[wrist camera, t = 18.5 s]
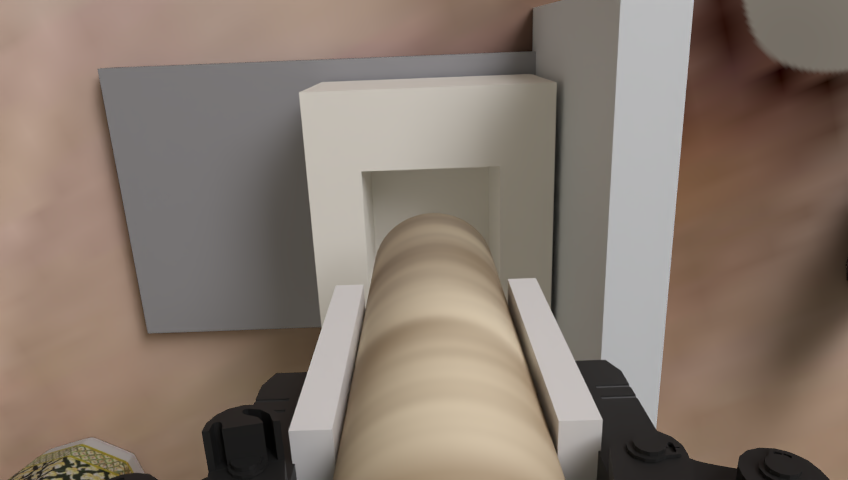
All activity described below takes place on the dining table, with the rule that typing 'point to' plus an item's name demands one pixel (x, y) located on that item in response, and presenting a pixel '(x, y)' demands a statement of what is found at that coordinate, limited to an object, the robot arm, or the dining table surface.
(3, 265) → the dining table surface
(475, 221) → the sliding block
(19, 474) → the ceramic cup
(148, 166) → the backstop wall
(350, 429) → the dowel
